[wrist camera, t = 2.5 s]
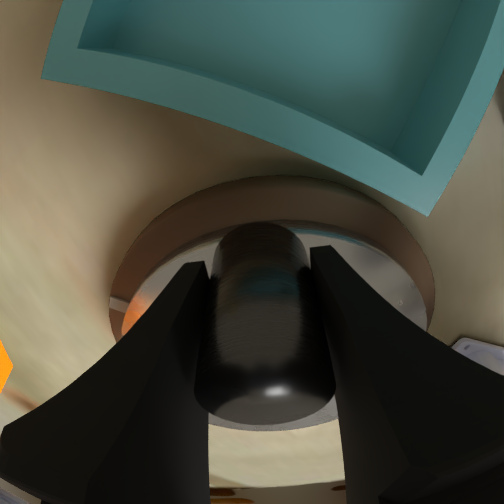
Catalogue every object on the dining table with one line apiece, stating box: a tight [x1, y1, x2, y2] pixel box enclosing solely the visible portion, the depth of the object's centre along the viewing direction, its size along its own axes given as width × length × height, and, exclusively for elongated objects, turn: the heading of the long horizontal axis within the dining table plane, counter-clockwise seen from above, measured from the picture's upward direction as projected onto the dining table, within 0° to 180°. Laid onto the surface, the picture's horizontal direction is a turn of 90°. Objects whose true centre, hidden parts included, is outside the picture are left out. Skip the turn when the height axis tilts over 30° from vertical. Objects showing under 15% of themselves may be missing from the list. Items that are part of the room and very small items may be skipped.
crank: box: [122, 219, 427, 431], centre depth 12 cm, size 14×14×6 cm
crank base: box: [109, 175, 435, 343], centre depth 15 cm, size 16×16×1 cm
